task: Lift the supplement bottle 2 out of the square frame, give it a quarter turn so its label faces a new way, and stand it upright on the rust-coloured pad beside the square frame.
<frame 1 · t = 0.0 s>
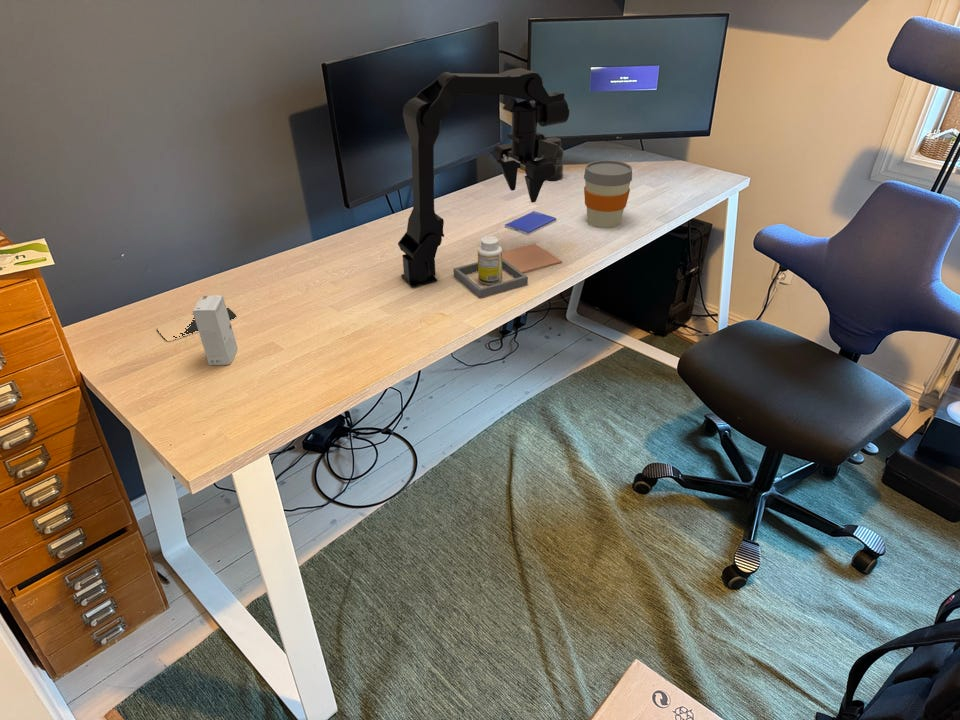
hand: (522, 196, 161), 15 cm above the table, tool pointing down, fingers open, 9 cm apart
reusable coffee cup: (603, 222, 185), on the table
dark flat slab: (198, 325, 144), on the table
pad: (527, 259, 166), on the table
supplement bottle: (551, 178, 215), on the table
square frame: (490, 280, 157), on the table
supplement bottle 2: (490, 281, 158), resting in square frame
skincare box: (223, 357, 133), on the table
hard drive: (530, 226, 185), on the table
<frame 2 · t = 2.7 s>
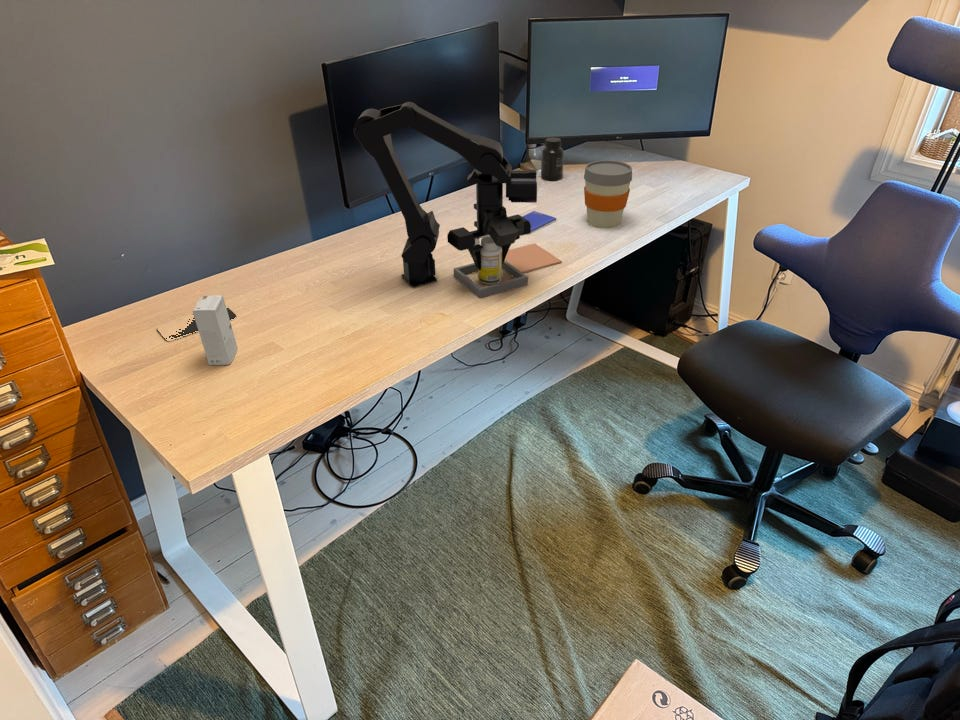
hand: (490, 266, 156), 4 cm above the table, tool pointing down, fingers closed on supplement bottle 2, 5 cm apart
supplement bottle 2: (490, 281, 158), resting in square frame, touching gripper
everything else where it was.
when the fingers open (5 cm above the table, at t = 7.7 s): supplement bottle 2 stays where it is, resting on pad.
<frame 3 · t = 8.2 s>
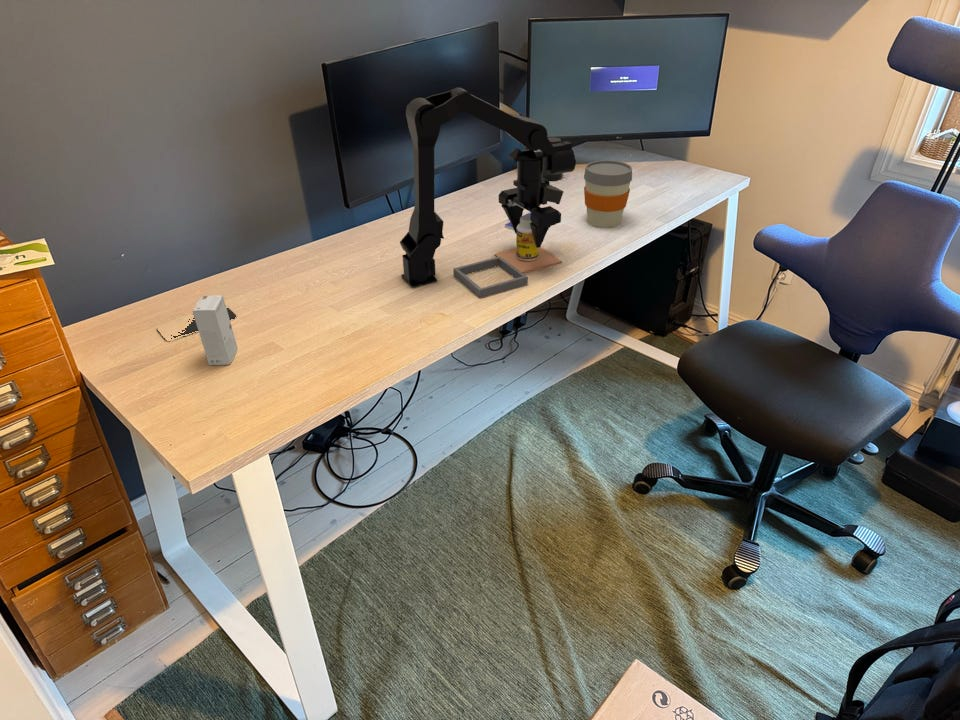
hand: (527, 240, 164), 5 cm above the table, tool pointing down, fingers open, 9 cm apart
supplement bottle 2: (527, 258, 166), resting on pad
everything else where it was.
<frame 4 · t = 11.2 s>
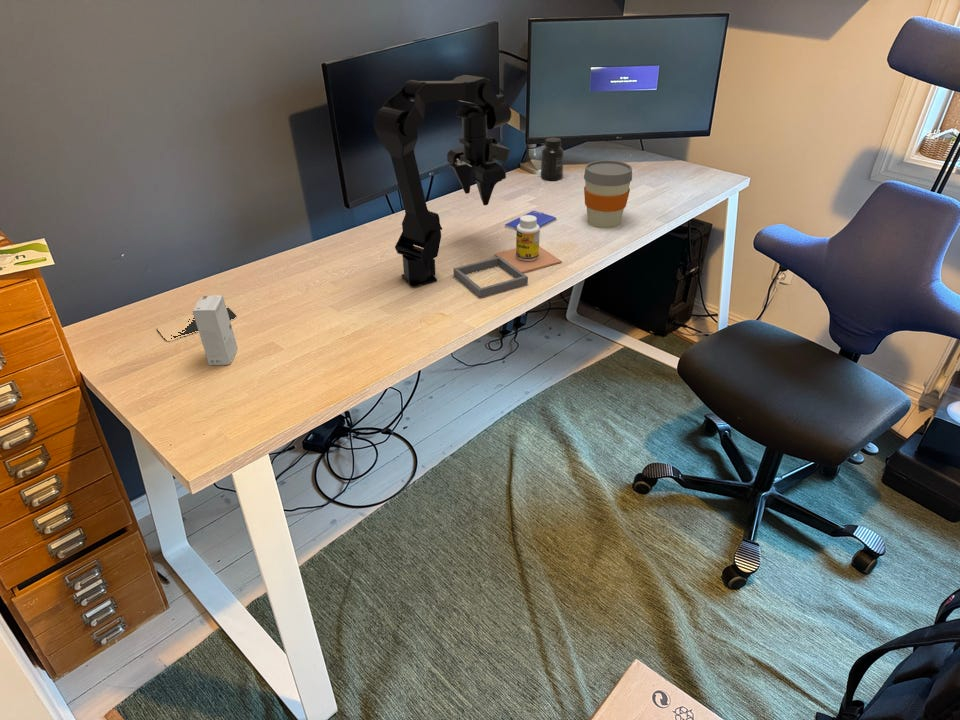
hand: (476, 199, 165), 13 cm above the table, tool pointing down, fingers open, 9 cm apart
nothing on the table moved.
at the end: supplement bottle 2 inside the target area on the pad (0.1 cm from its centre), point 0.3 cm above the pad's base; supplement bottle 2 tilted 0°; the gripper is holding nothing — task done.
